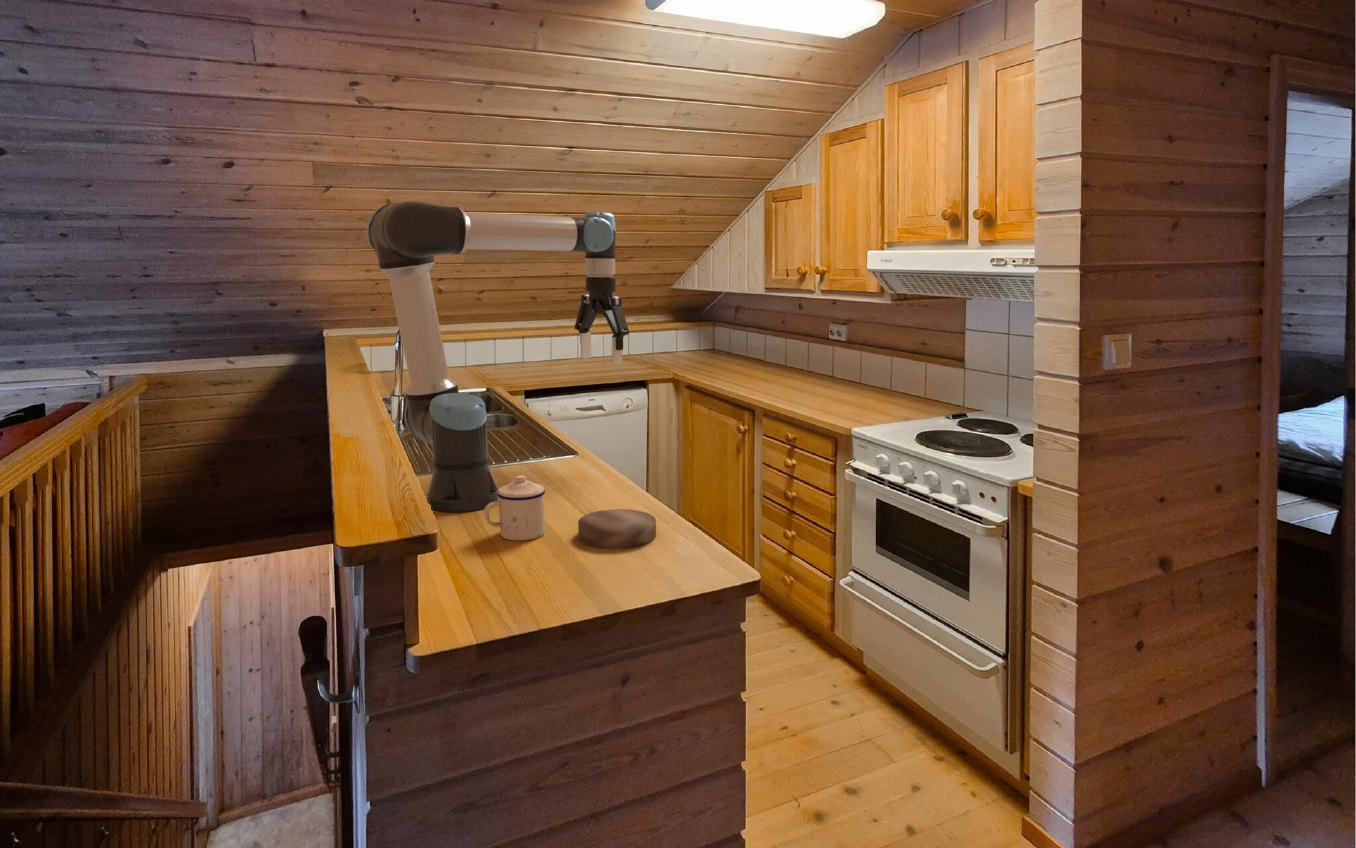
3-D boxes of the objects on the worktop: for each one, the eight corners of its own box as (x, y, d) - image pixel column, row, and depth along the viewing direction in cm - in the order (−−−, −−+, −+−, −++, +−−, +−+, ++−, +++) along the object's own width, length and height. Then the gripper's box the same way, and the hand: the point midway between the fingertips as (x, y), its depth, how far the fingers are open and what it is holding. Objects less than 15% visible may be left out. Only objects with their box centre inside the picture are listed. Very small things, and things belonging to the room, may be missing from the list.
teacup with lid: (537, 524, 172) (534, 468, 170) (553, 536, 164) (551, 478, 162) (478, 533, 167) (475, 476, 164) (492, 547, 159) (489, 487, 156)
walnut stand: (607, 554, 155) (607, 539, 154) (563, 534, 166) (563, 519, 165) (671, 537, 164) (671, 522, 164) (625, 518, 175) (625, 504, 175)
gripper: (643, 277, 206) (643, 364, 210) (584, 274, 224) (585, 355, 228) (618, 277, 201) (618, 366, 205) (560, 275, 219) (562, 356, 224)
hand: (601, 360), depth 217 cm, fingers open, 13 cm apart
